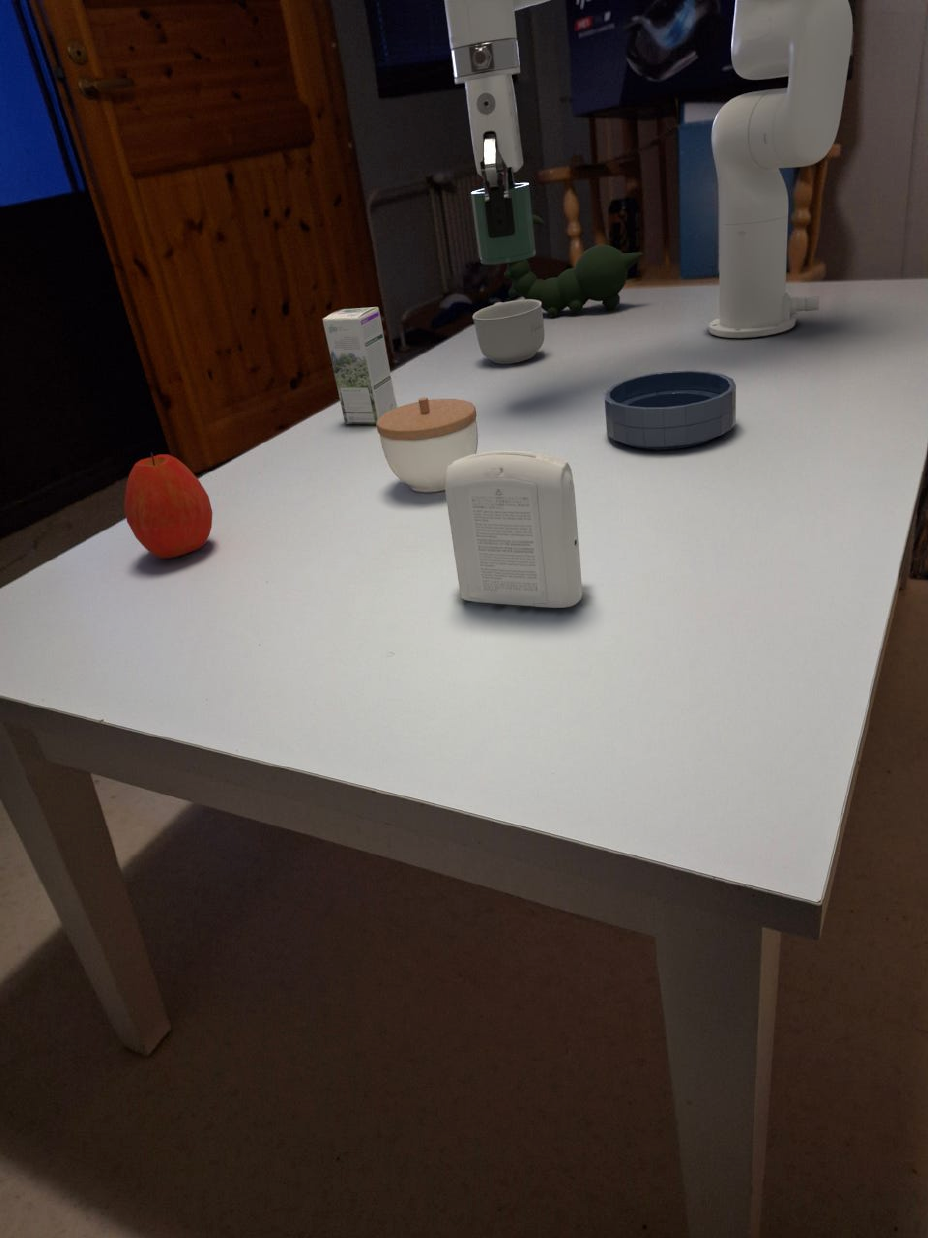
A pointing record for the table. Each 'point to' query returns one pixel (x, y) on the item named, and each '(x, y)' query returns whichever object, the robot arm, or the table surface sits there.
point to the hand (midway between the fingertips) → (505, 230)
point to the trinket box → (427, 440)
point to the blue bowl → (670, 409)
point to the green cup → (506, 246)
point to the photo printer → (514, 529)
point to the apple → (167, 507)
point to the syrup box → (360, 364)
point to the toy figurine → (575, 279)
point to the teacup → (510, 330)
